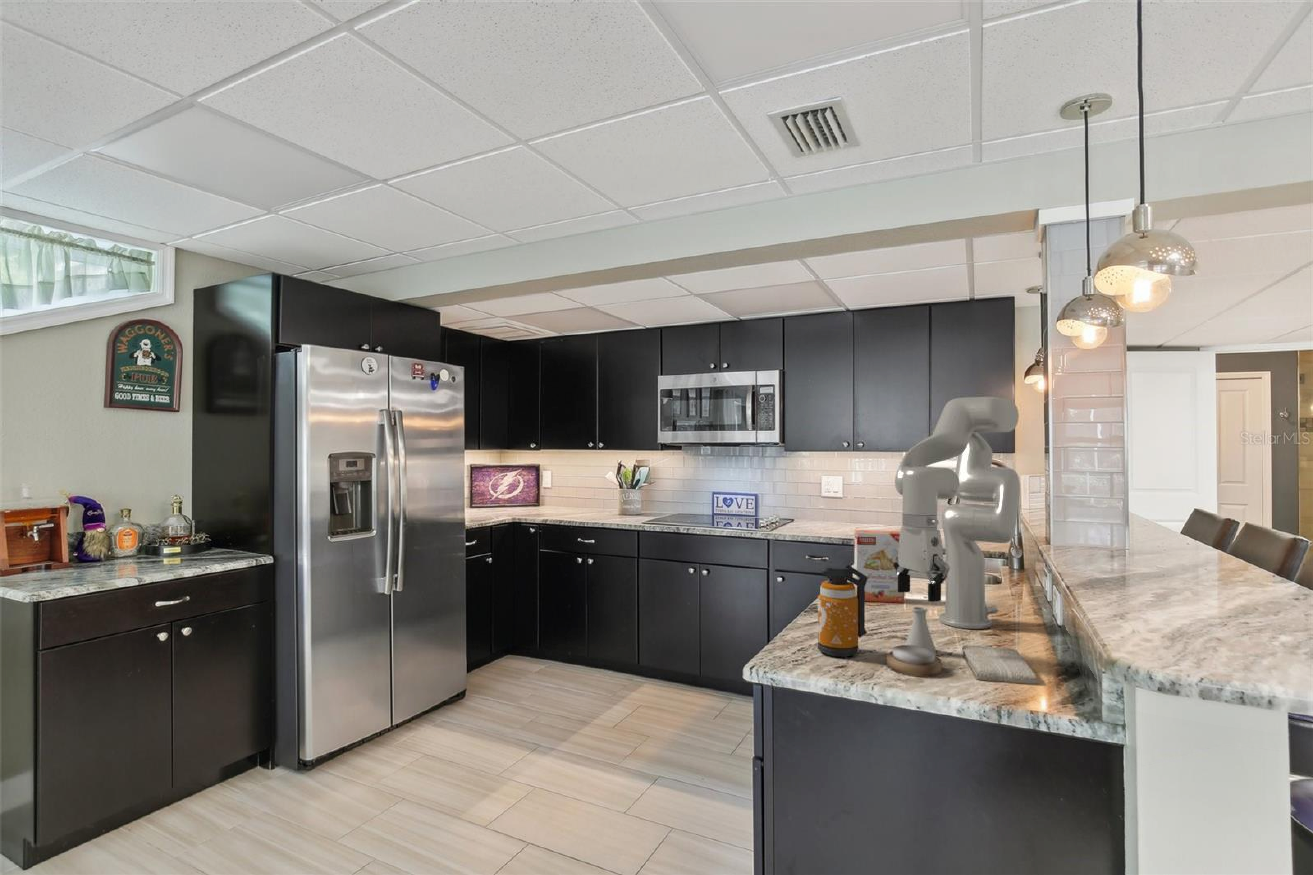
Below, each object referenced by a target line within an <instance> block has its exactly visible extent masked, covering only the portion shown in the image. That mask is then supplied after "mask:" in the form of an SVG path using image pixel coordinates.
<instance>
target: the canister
mask: <svg viewBox="0 0 1313 875" xmlns="http://www.w3.org/2000/svg"><path fill="white" fill-rule="evenodd" d="M819 571H820V573H821V574H822V575H823V576H825V577H826V578H827V579H828V580H824V581H822V582H821V585H820V588H819V589H820V590H819V593H820V594H818V595H817V649H818V650H819V651H820V652H822V653H824V654H825V655H828V656H831V657H838V658H846V657H851V656H854V655H856V654H857V653H858V652H859V638H862V637H863V636H864V635H866V634H868V632H867V631H866V628H865V626H866V625H865V620H866V619H865V617H866V616H865V615H866V614H865V610H866V608H865V607H866V606H865V603H866V601H865V585H866V582H867V579H868V577H866V576H865V575H864V574H862V573H860V572H859V571H857V570H856V569H854V567H853V566H852V565H849V564H847V565H845V566H829V565H826V566H825V567H824V568H822V569H820V570H819ZM854 574H855V575H856V576H858V577H859V578H860V579H859V580H858V579H856V578H854ZM854 584H855V585H857V597H856V588H855V586H854Z"/></svg>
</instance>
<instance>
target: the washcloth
mask: <svg viewBox="0 0 1313 875" xmlns="http://www.w3.org/2000/svg"><path fill="white" fill-rule="evenodd" d="M961 650H962V651H961V652H962V656H963V660H964V662H965V663H966V666H967V667H968V669H969V671H970V672H971V675H973V677H974V679H976V680H979V681H980V680H981V681H986V682H987V681H988V682H990V681H991V682H1005V683H1007V682H1008V683H1013V684H1026V685H1027V684H1028V685H1037V684H1039V682H1038V677H1037V675H1036V673H1035V672H1034V671H1033V669H1032V668H1031V667H1030V666H1029V664H1028V662H1026V660H1025V659H1024V658H1023V657H1022V655H1021V654H1020V652H1018V650H1017V649H1014V648H1010V647H1009V648H1008V647H1003V648H1001V647H1000V648H998V647H995V648H994V647H989V646H984V645H983V646H982V645H967V644H966V645H962V648H961Z"/></svg>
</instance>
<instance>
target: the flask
mask: <svg viewBox="0 0 1313 875" xmlns="http://www.w3.org/2000/svg"><path fill="white" fill-rule="evenodd" d="M912 612H913V618H912V619H913V620H912V625H911V627H910V630H909V632H908V636H907V638H906V641H905V644H904V645H913V646H920V647H925V648H928V649H930V650H932V651H934V652H935V654H936V653H937V649H936V646H935V644H934V641H933V638H932V636H931V633H930V632H931V631H930V630H929V626H928V622H927V617H926V616H927V614H926V613H927V612H928V609H927V608H926V607H923V606H913V607H912Z"/></svg>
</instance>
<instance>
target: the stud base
mask: <svg viewBox="0 0 1313 875" xmlns="http://www.w3.org/2000/svg"><path fill="white" fill-rule="evenodd" d="M887 666H888V667H887ZM886 667H887V668H888V669H889V668H891V669H892V670H893V672H894V671H895V672H894V673H897V674H900V673H902V674H901V675H904V676H909V677H916V678H917V677H918V678H919V677H920V678H928V677H929V678H930V677H935V676H938V675H940V674H941V673H942V660H941V658H939V657H938V656H936V653H935V652H934V651H932V650H930V649H928V648H925V647H920V646H913V645H905V644H904V645H901V644H900V645H897V646H894V647H893V648H892V651H889V652H888V653H886ZM891 669H890V670H891ZM892 670H891V671H892Z"/></svg>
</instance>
